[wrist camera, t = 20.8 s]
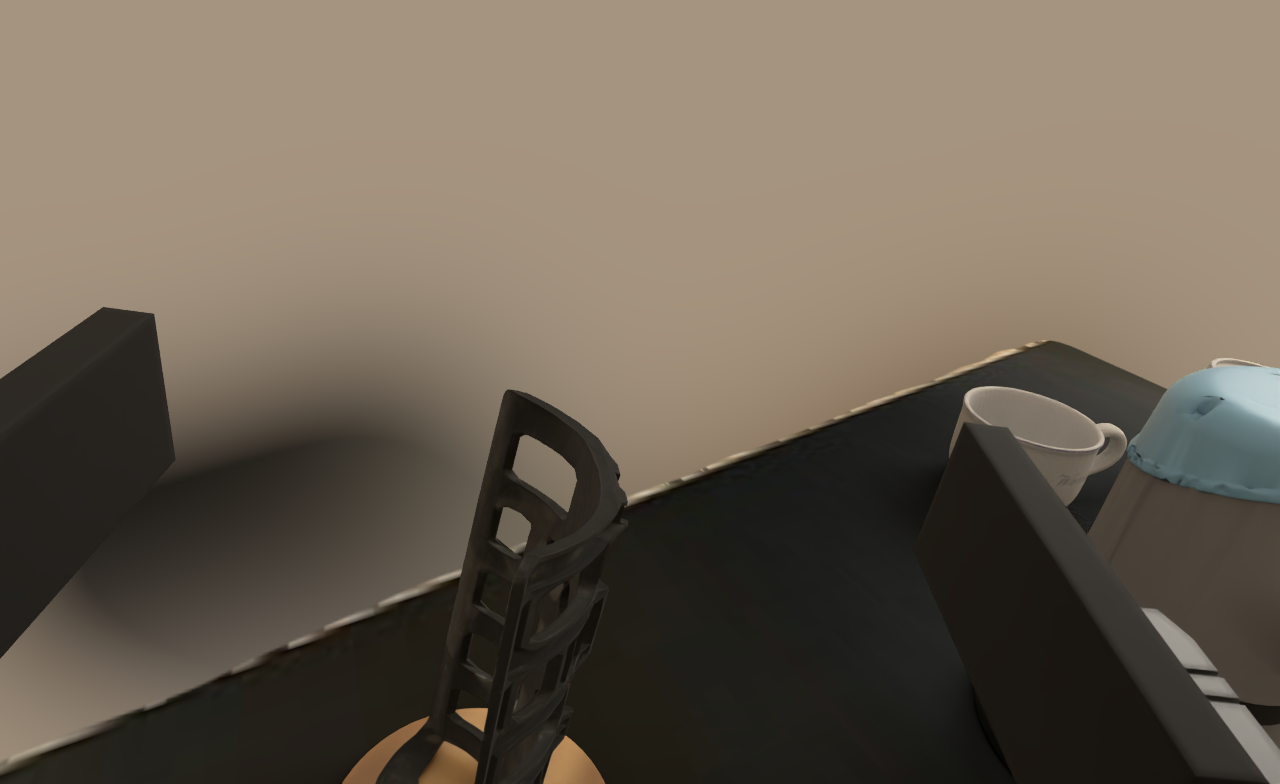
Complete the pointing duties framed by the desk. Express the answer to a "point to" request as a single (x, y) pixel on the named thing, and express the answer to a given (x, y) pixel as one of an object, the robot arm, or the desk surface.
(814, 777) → the desk surface
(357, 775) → the cork mat
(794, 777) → the desk surface
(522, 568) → the holder
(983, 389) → the teacup
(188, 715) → the desk surface
